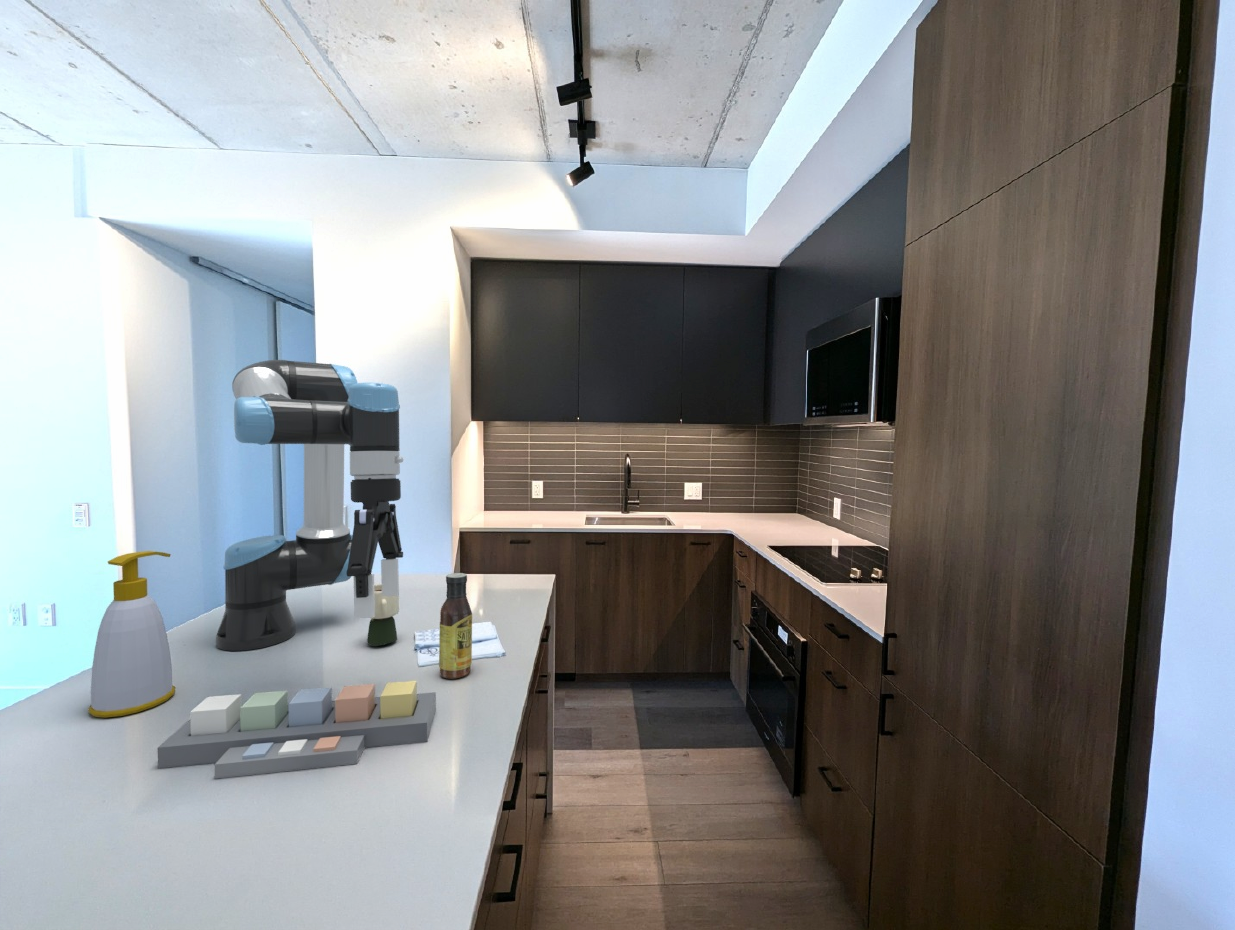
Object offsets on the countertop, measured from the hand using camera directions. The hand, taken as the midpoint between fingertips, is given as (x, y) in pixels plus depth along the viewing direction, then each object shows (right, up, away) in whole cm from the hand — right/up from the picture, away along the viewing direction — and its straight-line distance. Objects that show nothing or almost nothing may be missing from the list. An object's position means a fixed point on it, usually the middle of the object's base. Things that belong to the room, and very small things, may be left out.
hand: (378, 606), depth 86 cm
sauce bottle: (+7, -19, +19) cm, 27 cm away
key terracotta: (-2, -17, -3) cm, 17 cm away
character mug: (-14, -18, +33) cm, 40 cm away
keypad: (-8, -19, -6) cm, 22 cm away
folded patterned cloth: (+3, -19, +33) cm, 38 cm away
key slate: (-9, -17, -4) cm, 19 cm away
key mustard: (+4, -17, -2) cm, 17 cm away
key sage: (-15, -17, -6) cm, 23 cm away
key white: (-21, -17, -7) cm, 28 cm away
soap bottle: (-45, -19, +5) cm, 49 cm away
